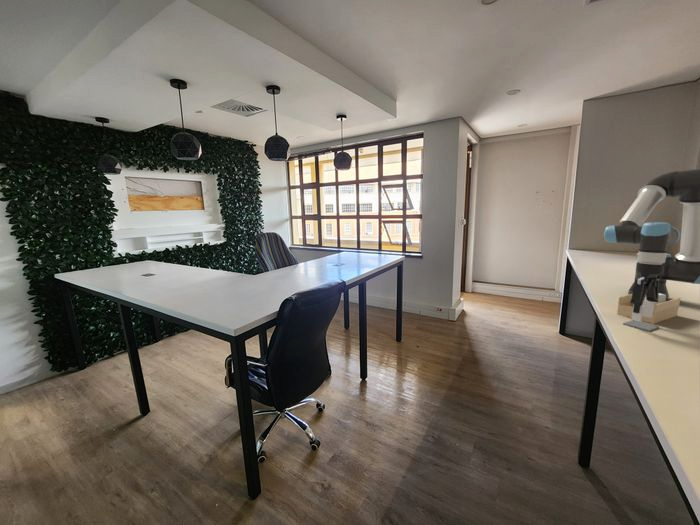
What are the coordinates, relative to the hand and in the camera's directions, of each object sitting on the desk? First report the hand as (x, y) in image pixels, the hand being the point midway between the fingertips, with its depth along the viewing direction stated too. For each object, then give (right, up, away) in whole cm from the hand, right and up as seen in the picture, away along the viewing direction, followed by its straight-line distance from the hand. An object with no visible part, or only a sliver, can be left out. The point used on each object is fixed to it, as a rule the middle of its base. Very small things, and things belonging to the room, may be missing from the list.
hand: (641, 318), depth 116 cm
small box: (+15, -1, +12) cm, 19 cm away
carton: (+14, -1, +12) cm, 19 cm away
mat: (0, -3, +1) cm, 3 cm away
